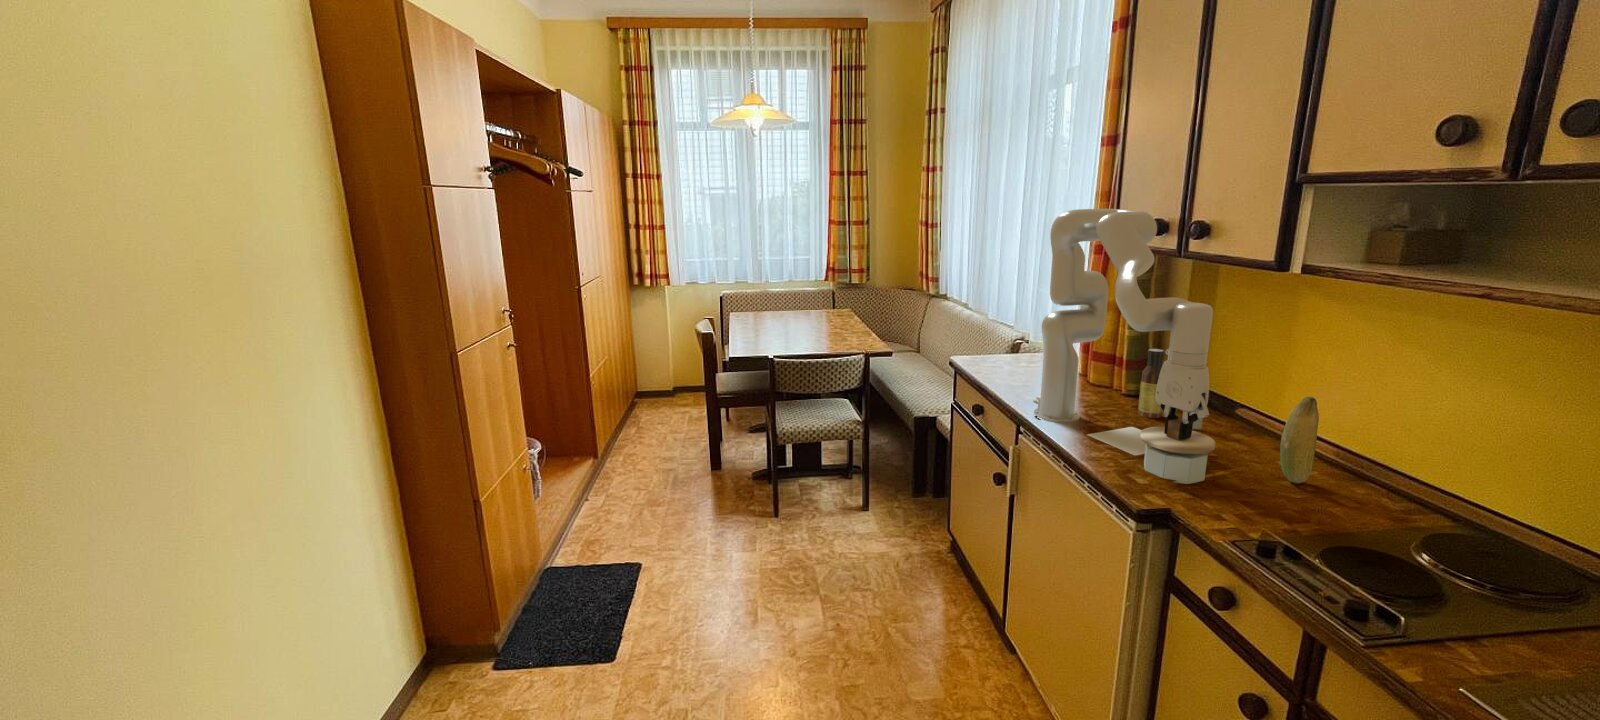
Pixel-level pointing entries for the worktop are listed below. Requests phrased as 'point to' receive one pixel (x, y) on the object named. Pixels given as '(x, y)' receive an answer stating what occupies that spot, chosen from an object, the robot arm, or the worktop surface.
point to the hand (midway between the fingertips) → (1177, 435)
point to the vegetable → (1299, 441)
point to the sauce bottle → (1151, 385)
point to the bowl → (1175, 465)
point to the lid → (1177, 439)
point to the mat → (1123, 439)
